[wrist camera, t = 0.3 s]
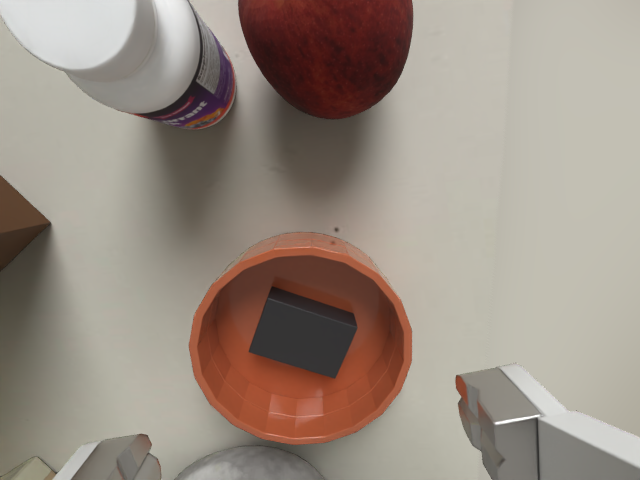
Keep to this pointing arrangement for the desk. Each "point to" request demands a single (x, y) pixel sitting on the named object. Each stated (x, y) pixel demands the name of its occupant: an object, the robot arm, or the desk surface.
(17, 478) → the box
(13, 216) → the tray
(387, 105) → the desk surface
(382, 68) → the apple
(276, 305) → the block
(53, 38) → the pill bottle
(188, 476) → the dish
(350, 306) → the bowl
